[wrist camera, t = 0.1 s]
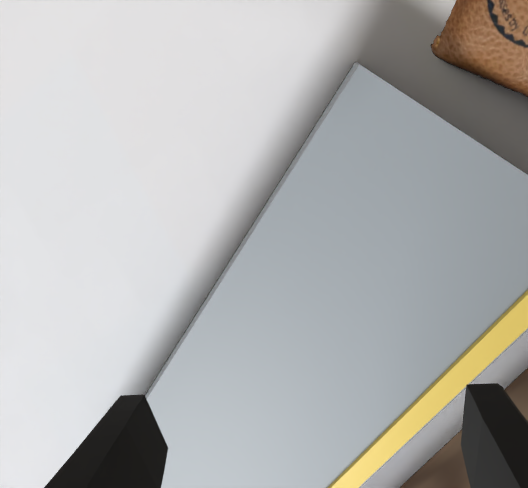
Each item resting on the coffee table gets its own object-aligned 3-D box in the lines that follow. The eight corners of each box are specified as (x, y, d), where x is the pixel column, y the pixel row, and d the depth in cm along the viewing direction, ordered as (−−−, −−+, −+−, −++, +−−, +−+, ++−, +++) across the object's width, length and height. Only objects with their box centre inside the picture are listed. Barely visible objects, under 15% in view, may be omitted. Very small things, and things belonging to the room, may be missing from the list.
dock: (229, 574, 30) (220, 621, 28) (79, 499, 29) (56, 541, 27) (587, 214, 18) (627, 240, 16) (355, 61, 17) (360, 64, 15)
